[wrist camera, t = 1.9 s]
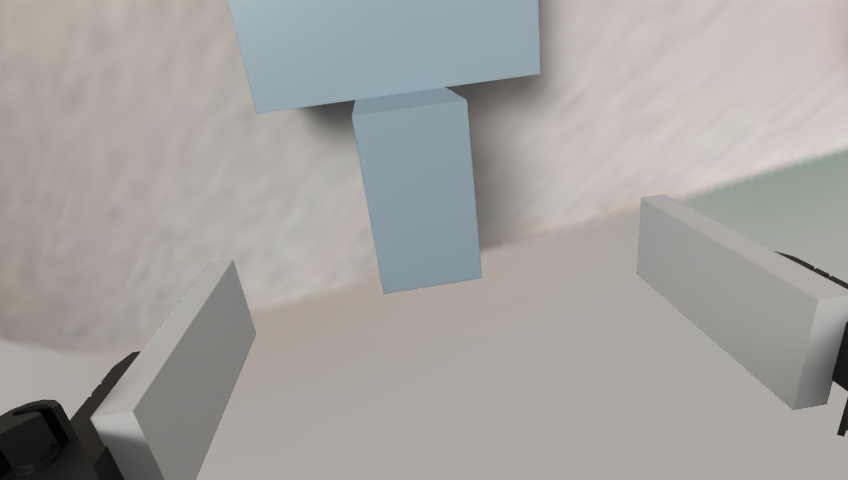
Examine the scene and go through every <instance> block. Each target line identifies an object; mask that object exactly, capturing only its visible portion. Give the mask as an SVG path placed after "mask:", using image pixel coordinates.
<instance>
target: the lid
mask: <svg viewBox="0 0 848 480" xmlns="http://www.w3.org/2000/svg"><path fill="white" fill-rule="evenodd" d="M228 4H229V8H230V12H231V16H232V20H233V23H234V27H235V31H236V35H237V39H238V43H239V47H240V51H241V54H242V58H243V62H244V66H245V70H246V74H247V78H248V82H249V85H250V89H251V93H252V97H253V101H254V105H255V109H256V113H257V114H258V113H265V112H272V111H280V110H287V109H294V108H301V107H308V106H315V105H322V104H329V103H336V102H344V101H351V100H355V104H354V108H353V113H352V121H353V126H354V132H355V137H356V143H357V149H358V154H359V160H360V165H361V171H362V176H363V182H364V187H365V193H366V198H367V204H368V210H369V215H370V221H371V226H372V232H373V237H374V243H375V248H376V254H377V259H378V265H379V271H380V276H381V282H382V287H383V293H384V294H387V293H393V292H399V291H405V290H411V289H417V288H424V287H429V286H436V285H442V284H448V283H455V282H461V281H467V280H473V279H479V278H482V273H481V261H480V249H479V237H478V225H477V214H476V202H475V190H474V178H473V166H472V154H471V142H470V130H469V119H468V107H467V100H466V99H465V98H463V97H461V96H459V95H458V94H456V93H454V92H453V91H451V90H449V89H448V88H446V87H450V86H458V85H465V84H472V83H479V82H486V81H493V80H500V79H507V78H515V77H522V76H529V75H536V74H540V46H539V5H538V0H228Z"/></svg>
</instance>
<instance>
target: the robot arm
mask: <svg viewBox="0 0 848 480" xmlns="http://www.w3.org/2000/svg"><path fill="white" fill-rule="evenodd" d="M637 274H638V275H639V276H640V277H641V278H643V279H644V280H645V281H646V282H647V283H649V284H650V285H651V286H652V287H653V288H654V289H655V290H656V291H658V292H659V293H660V294H661V295H662V296H663V297H664V298H666V299H667V300H668V301H669V302H670V303H671V304H672V305H673V306H675V307H676V308H677V309H678V310H679V311H681V312H682V313H683V314H684V315H685V316H686V317H688V319H690V320H691V321H692V322H693V323H694V324H695V325H696V326H697V327H699V328H700V329H701V330H702V331H703V332H704V333H705V334H707V335H708V336H709V337H710V338H711V339H712V340H713V341H715V342H716V343H717V344H718V345H719V346H720V347H721V348H723V349H724V350H725V351H726V352H727V353H728V354H730V355H731V356H732V357H733V358H734V359H735V360H736V361H738V362H739V363H740V364H741V365H742V366H743V367H744V368H746V369H747V370H748V371H749V372H750V373H751V374H753V375H754V376H755V377H756V378H757V379H758V380H759V381H761V382H762V383H763V384H764V385H765V386H766V387H767V388H769V389H770V390H771V391H772V392H773V393H774V394H775V395H776V396H778V397H779V398H780V399H781V400H782V401H783V402H785V403H786V404H787V405H788V406H789V407H790V408H791V409H792V410H795V409H801V408H807V407H813V406H819V405H824V404H827V401H828V397H829V393H830V390H831V386H832V382H833V381H834V382H836V383H837V384H839V385H840V386H841V387H843V388H844V389H845V390H847V391H848V284H847V283H845V282H843V281H841V280H839V279H837V278H835V277H833V276H831V277H830V276H829V274H828V273H826V272H824V271H822V270H820V269H818V268H817V269H814V267H813V266H812V265H810V264H808V263H806V262H804V261H802V260H800V259H798V258H796V257H793V256H789V255H786V254H783V253H779V252H776V251H773V250H771V249H769V248H767V247H765V246H763V245H761V244H759V243H757V242H755V241H753V240H751V239H749V238H748V237H746V236H744V235H742V234H740V233H738V232H736V231H734V230H732V229H730V228H728V227H726V226H724V225H722V224H720V223H718V222H716V221H715V220H713V219H711V218H709V217H707V216H705V215H703V214H701V213H699V212H697V211H695V210H693V209H691V208H690V207H688V206H686V205H684V204H682V203H680V202H678V201H676V200H674V199H672V198H670V197H668V196H666V195H657V196H651V197H644V198H641V212H640V229H639V246H638V263H637ZM255 335H256V331H255V328H254V325H253V322H252V318H251V315H250V312H249V309H248V306H247V302H246V299H245V296H244V293H243V290H242V286H241V283H240V280H239V277H238V274H237V270H236V267H235V264H234V261H233V260H227V261H220V262H214V263H208V265H207V266H206V267H205V268H204V270H203V271H202V272H201V274H200V275H199V276H198V278H197V279H196V280H195V282H194V283H193V284H192V285H191V287H190V288H189V289H188V291H187V292H186V293H185V295H184V296H183V297H182V299H181V300H180V301H179V302H178V304H177V305H176V306H175V308H174V309H173V310H172V312H171V313H170V314H169V316H168V317H167V318H166V319H165V321H164V322H163V323H162V325H161V326H160V327H159V329H158V330H157V331H156V333H155V334H154V335H153V336H152V338H151V339H150V340H149V342H148V343H147V344H146V346H145V347H144V348H143V350H142V351H139V352H133V353H131V354H130V355H128V356H127V357H126V358H124V359H123V360H122V361H120V362H119V363H118V364H117V365H115V366H114V367H113V368H112V369H111V370H110V372H109V373H108V374H107V376H106V377H105V378H104V379H103V381H102V384H100V385H98V387H97V388H96V389H95V390H94V391H93V393H92V396H91V397H89V398H88V399H87V400H86V401H85V402H84V404H83V405H82V406H81V407H80V409H79V410H78V411H77V412H76V414H75V415H74V416H73V417H72V418H71V420H70V421H69V419H68V417H67V415H66V414H65V412H64V410H63V408H62V406H61V405H60V404H59V403H58V402H57V401H55V400H40V401H35V402H31V403H27V404H25V405H23V406H20V407H17V408H15V409H12V410H10V411H8V412H7V413H5V414H3V415H1V416H0V480H196V478H197V476H198V473H199V471H200V468H201V466H202V464H203V461H204V459H205V456H206V454H207V451H208V449H209V446H210V444H211V442H212V439H213V437H214V434H215V432H216V430H217V427H218V425H219V422H220V420H221V418H222V415H223V413H224V410H225V408H226V405H227V403H228V401H229V398H230V396H231V393H232V391H233V388H234V386H235V384H236V381H237V379H238V376H239V374H240V371H241V369H242V367H243V364H244V362H245V359H246V357H247V354H248V352H249V350H250V347H251V345H252V342H253V340H254V338H255ZM846 430H848V399H847V402H846V406H845V409H844V413H843V416H842V420H841V423H840V426H839V430H838V433H837V435H841V436H844V435H845V432H846Z"/></svg>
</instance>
